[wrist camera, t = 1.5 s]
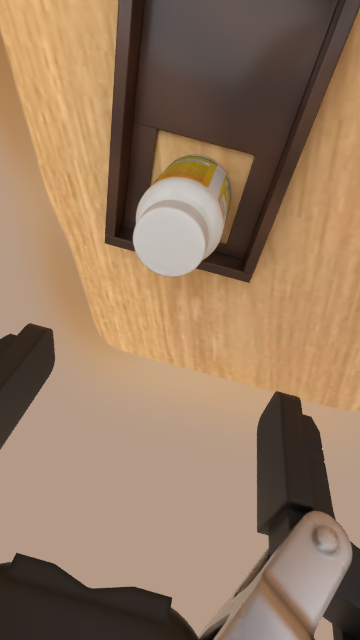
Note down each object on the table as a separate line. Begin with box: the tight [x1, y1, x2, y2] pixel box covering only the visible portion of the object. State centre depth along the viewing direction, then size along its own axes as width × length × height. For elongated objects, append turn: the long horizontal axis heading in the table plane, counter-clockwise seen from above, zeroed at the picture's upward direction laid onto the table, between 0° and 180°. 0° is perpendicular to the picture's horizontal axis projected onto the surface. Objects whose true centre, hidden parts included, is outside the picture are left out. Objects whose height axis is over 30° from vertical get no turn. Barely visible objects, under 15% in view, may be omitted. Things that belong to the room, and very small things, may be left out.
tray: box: [105, 0, 360, 283], centre depth 22 cm, size 18×12×2 cm, turn 168°
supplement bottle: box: [133, 155, 231, 277], centre depth 21 cm, size 5×5×10 cm
